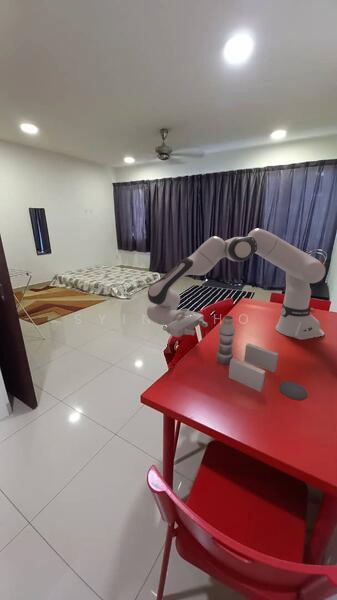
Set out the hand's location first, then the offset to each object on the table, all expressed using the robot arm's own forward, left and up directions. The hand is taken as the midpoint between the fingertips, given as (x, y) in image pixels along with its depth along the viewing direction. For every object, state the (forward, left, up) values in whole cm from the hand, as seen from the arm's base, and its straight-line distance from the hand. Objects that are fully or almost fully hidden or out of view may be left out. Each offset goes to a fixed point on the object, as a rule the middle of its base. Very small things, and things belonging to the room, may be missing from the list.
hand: (200, 329), depth 103 cm
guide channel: (-17, +17, -11) cm, 26 cm away
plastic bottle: (-8, +8, -11) cm, 16 cm away
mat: (-27, +27, -11) cm, 40 cm away
